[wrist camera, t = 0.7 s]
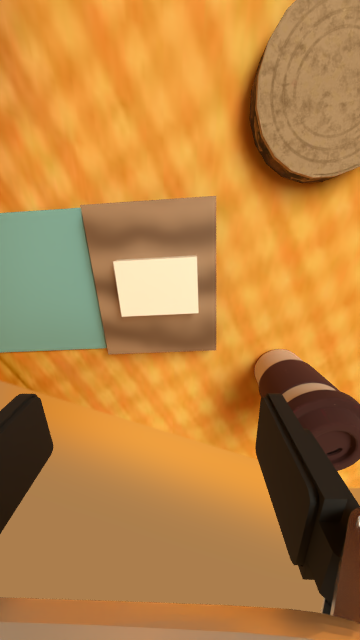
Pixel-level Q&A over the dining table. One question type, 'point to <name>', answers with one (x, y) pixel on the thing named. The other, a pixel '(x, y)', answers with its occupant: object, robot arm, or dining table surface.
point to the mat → (47, 283)
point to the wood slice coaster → (310, 92)
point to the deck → (154, 242)
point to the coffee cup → (313, 404)
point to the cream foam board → (157, 286)
